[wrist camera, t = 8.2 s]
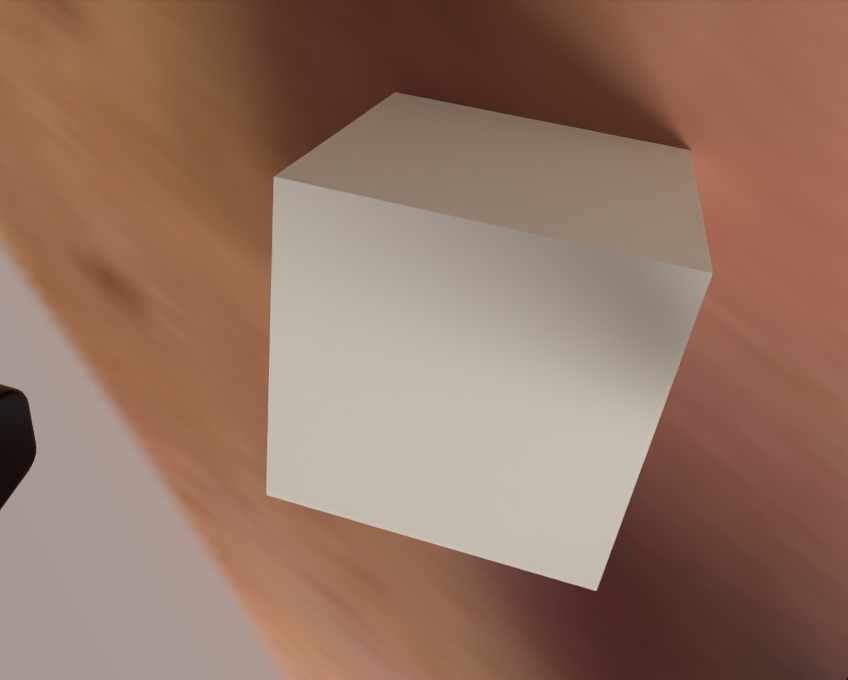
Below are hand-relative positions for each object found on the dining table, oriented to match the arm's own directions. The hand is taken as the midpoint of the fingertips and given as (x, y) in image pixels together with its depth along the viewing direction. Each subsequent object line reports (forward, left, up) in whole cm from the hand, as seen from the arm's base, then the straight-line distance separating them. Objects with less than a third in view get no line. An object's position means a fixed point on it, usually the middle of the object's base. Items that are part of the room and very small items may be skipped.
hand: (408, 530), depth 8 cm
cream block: (0, 0, -7) cm, 7 cm away
